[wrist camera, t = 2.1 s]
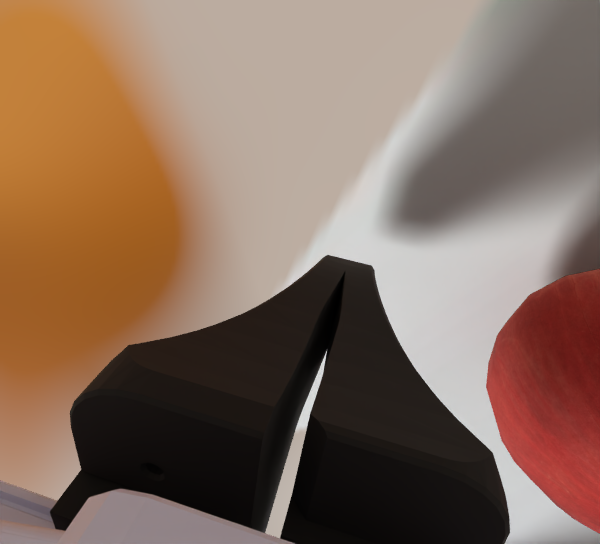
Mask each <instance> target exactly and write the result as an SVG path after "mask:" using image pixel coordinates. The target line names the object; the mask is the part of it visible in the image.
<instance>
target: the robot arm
mask: <svg viewBox="0 0 600 544" xmlns="http://www.w3.org/2000/svg"><path fill="white" fill-rule="evenodd" d="M327 348H328V349H327ZM326 351H327V355H326V361H325V367H324V373H323V377H322V380H321V383H320V386H319V389H318V392H317V395H316V398H315V401H314V404H313V407H312V410H311V413H310V418H309V422H308V426H307V431H306V435H305V440H304V444H303V448H302V453H301V457H300V462H299V467H298V471H297V475H296V479H295V484H294V488H293V493H292V497H291V500H290V504H289V508H288V512H287V515H286V519H285V522H284V526H283V529H282V534H281V537H280V538H277V537H274V536H271V535H268V534H266V533H265V531H266V528H267V524H268V521H269V517H270V513H271V510H272V507H273V503H274V500H275V497H276V493H277V490H278V486H279V482H280V480H281V476H282V473H283V469H284V465H285V463H286V459H287V456H288V452H289V449H290V446H291V442H292V439H293V436H294V432H295V429H296V426H297V423H298V420H299V417H300V415H301V412H302V409H303V407H304V404H305V402H306V400H307V397H308V395H309V392H310V390H311V387H312V385H313V383H314V380H315V378H316V375H317V373H318V370H319V368H320V365H321V363H322V361H323V358H324V356H325V353H326ZM70 420H71V429H72V433H73V437H74V441H75V445H76V449H77V453H78V457H79V461H80V466H81V471H80V472H79V473H78V475H77V476H76V478H75V479H74V480H73V481H72V483H71V484H70V485H69V487H68V488H67V489H66V491H65V492H64V493H63V495H62V496H61V497H60V499H59V500H58V501H57V500H54V499H51V498H48V497H45V496H43V495H40V494H37V493H34V492H32V491H29V490H26V489H23V488H20V487H17V486H15V485H12V484H9V483H6V482H4V481H1V480H0V544H504V543H505V541H506V539H507V537H508V535H509V533H510V524H509V513H508V507H507V501H506V496H505V492H504V489H503V485H502V482H501V478H500V475H499V472H498V469H497V465H496V462H495V459H494V456H493V453H492V452H491V451H490V450H489V449H488V448H487V447H486V446H485V445H484V444H483V443H482V442H481V441H480V440H479V439H478V438H477V437H476V436H474V435H473V434H472V433H471V432H470V431H469V430H468V429H467V428H466V427H465V426H464V425H463V424H462V423H461V422H460V421H459V420H458V419H457V418H456V417H455V416H454V415H453V414H452V413H451V412H450V411H449V410H448V409H447V408H446V407H445V405H444V404H443V403H442V402H441V401H440V400H439V399H438V398H437V396H436V395H435V394H434V393H433V392H432V390H431V389H430V388H429V387H428V385H427V384H426V383H425V381H424V380H423V379H422V377H421V376H420V375H419V373H418V372H417V371H416V369H415V368H414V366H413V365H412V363H411V362H410V360H409V359H408V357H407V355H406V354H405V352H404V350H403V349H402V347H401V345H400V343H399V341H398V339H397V337H396V335H395V333H394V331H393V329H392V327H391V325H390V322H389V320H388V318H387V315H386V313H385V310H384V307H383V304H382V302H381V299H380V295H379V292H378V288H377V284H376V280H375V273H374V269H373V267H372V266H371V265H367V264H362V263H358V262H354V261H350V260H346V259H342V258H338V257H334V256H330V255H327V256H325V257H323V258H322V259H321V260H320V261H319V262H318V263H317V264H316V265H315V266H314V267H313V268H312V269H310V270H309V271H308V272H307V273H306V274H304V275H303V276H302V277H301V278H299V279H298V280H297V281H295V282H294V283H293V284H292V285H290V286H289V287H287V288H286V289H284V290H283V291H281V292H280V293H278V294H277V295H275V296H274V297H272V298H271V299H269V300H267V301H266V302H264V303H262V304H261V305H259V306H257V307H255V308H253V309H251V310H249V311H247V312H245V313H243V314H241V315H238V316H236V317H234V318H231V319H228V320H226V321H223V322H221V323H218V324H216V325H213V326H210V327H207V328H203V329H201V330H197V331H193V332H190V333H187V334H182V335H178V336H175V337H170V338H165V339H160V340H155V341H150V342H145V343H140V344H133V345H128V346H127V347H126V348H125V349H124V350H123V351H122V352H121V353H120V354H118V356H116V357H115V358H114V359H113V360H112V361H111V362H110V363H109V364H108V365H107V366H106V367H105V368H104V369H103V370H102V371H101V372H100V373H99V375H98V376H97V377H96V378H95V379H94V380H93V381H92V382H91V383H90V385H89V386H88V387H87V388H86V389H85V390H84V391H83V392H82V393H81V394H80V395H79V397H78V398H77V399H76V400H75V401H74V403H73V406H72V408H71V411H70Z"/></svg>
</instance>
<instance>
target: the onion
mask: <svg viewBox="0 0 600 544" xmlns="http://www.w3.org/2000/svg"><path fill="white" fill-rule="evenodd" d="M486 388H487V391H488V395H489V398H490V402H491V405H492V408H493V412H494V415H495V419H496V422H497V426H498V429H499V432H500V436H501V439H502V442H503V443H504V445H505V447H506V448H507V450H508V452H509V453H510V455H511V457H512V458H513V460H514V462H515V463H516V464H517V465H518V466H519V467H520V468H521V469H522V470H523V471H524V472H525V474H526V475H527V476H528V477H529V478H530V479H531V480H532V481H533V482H534V483H535V484H536V485H537V486H538V487H539V488H540V489H541V490H542V491H543V492H544V493H545V494H546V495H547V496H548V497H549V498H550V499H551V500H552V501H553V502H554V503H555V504H556V505H557V506H558V507H559V508H561V509H562V510H563V511H564V512H566V513H567V514H568V515H570V516H571V517H572V518H573V519H575V520H577V521H578V522H580V523H582V524H584V525H585V526H587V527H589V528H590V529H592V530H594V531H596V532H597V533H599V534H600V269H596V270H591V271H587V272H582V273H577V274H572V275H567V276H564V277H562V278H560V279H559V280H557V281H555V282H553V283H551V284H549V285H547V286H545V287H543V288H542V289H540V290H538V291H536V292H534V293H532V294H530V295H529V296H528V297H527V299H526V300H525V301H524V302H523V303H522V304H521V306H520V307H519V308H518V309H517V310H516V311H515V313H514V314H513V315H512V316H511V317H510V318H509V320H508V321H507V322H506V324H505V325H504V327H503V328H502V329H501V331H500V332H499V333H498V335H497V338H496V341H495V344H494V348H493V351H492V354H491V357H490V360H489V364H488V374H487V384H486Z"/></svg>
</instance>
